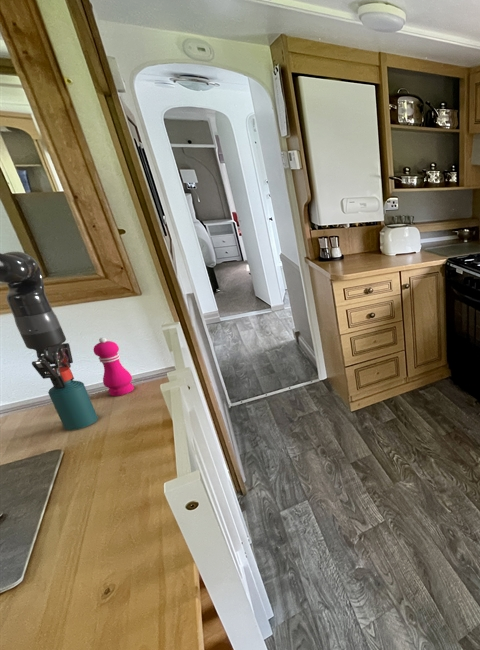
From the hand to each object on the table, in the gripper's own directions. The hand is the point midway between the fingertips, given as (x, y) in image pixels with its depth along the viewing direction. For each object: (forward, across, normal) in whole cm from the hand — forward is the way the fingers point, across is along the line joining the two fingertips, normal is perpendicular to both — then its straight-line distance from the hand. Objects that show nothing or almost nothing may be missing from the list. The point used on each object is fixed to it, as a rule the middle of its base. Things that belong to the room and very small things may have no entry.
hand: (65, 383), depth 107 cm
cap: (-1, 0, 0) cm, 1 cm away
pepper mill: (+13, +18, -4) cm, 23 cm away
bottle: (+13, 0, 0) cm, 13 cm away
